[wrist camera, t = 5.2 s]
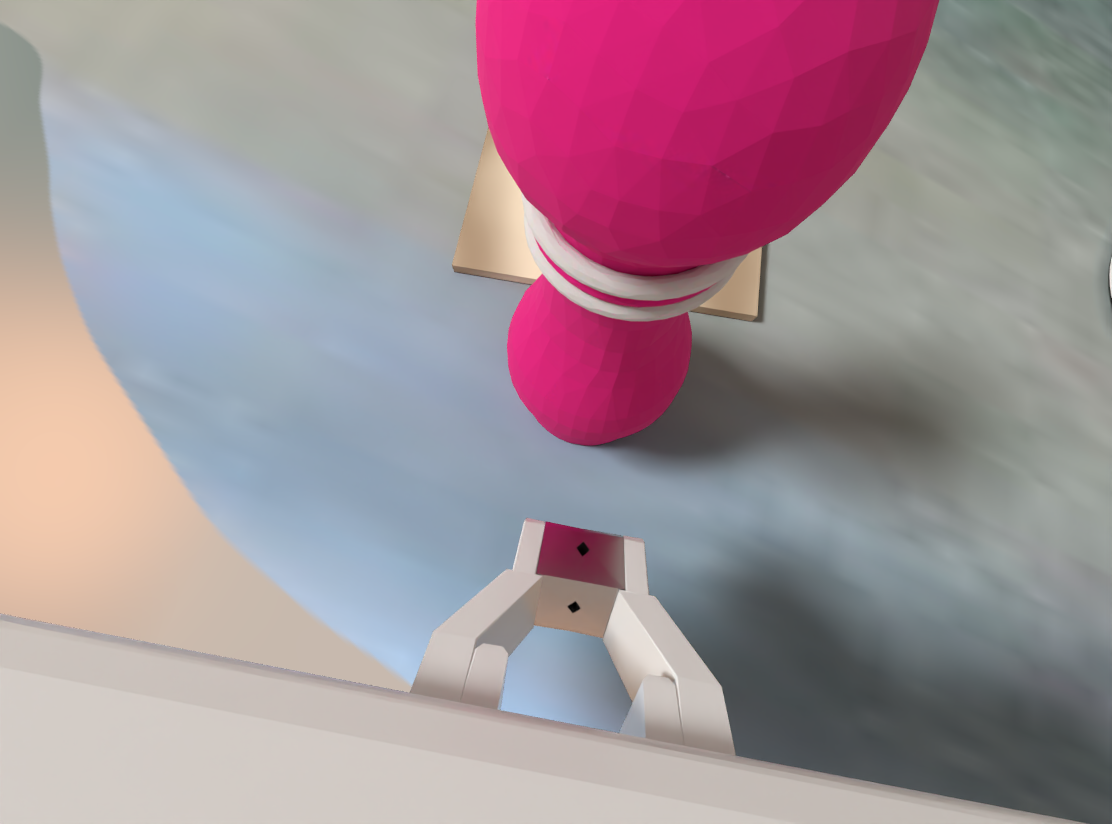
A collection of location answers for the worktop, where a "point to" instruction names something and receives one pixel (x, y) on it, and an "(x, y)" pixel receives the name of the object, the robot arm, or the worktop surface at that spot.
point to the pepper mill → (668, 169)
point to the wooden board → (503, 252)
